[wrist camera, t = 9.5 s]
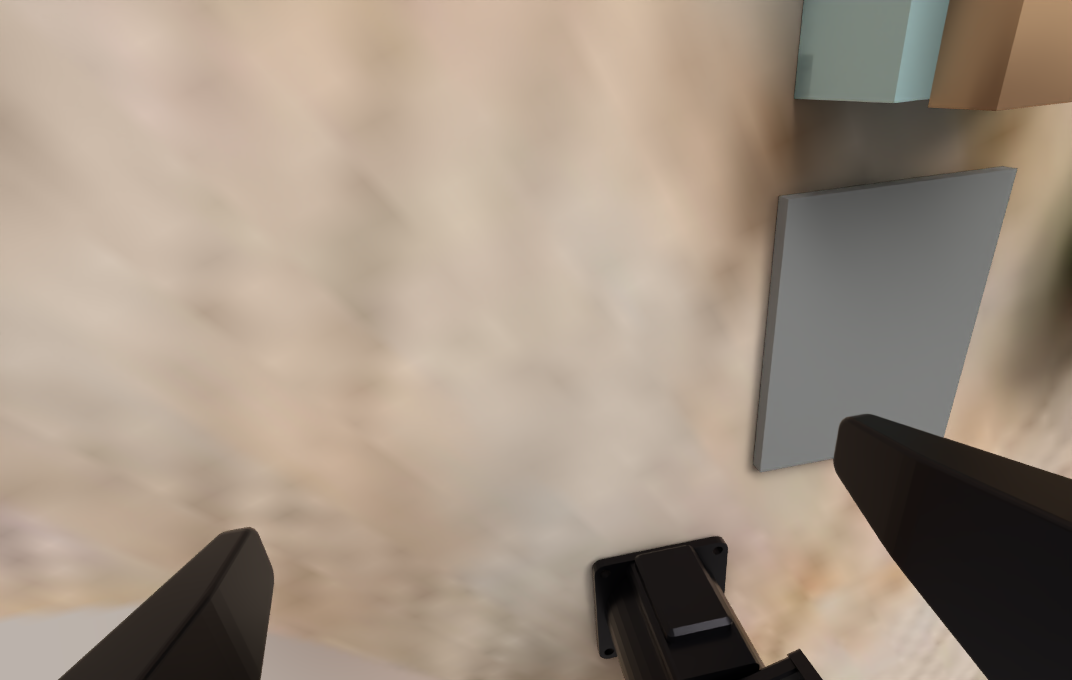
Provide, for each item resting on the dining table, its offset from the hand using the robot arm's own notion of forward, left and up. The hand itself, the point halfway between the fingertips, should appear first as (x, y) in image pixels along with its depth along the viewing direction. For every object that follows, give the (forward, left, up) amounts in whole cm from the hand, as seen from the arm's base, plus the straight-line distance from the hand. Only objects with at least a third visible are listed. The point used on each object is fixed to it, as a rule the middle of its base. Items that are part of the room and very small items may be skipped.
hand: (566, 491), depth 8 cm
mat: (-5, -15, -12) cm, 20 cm away
